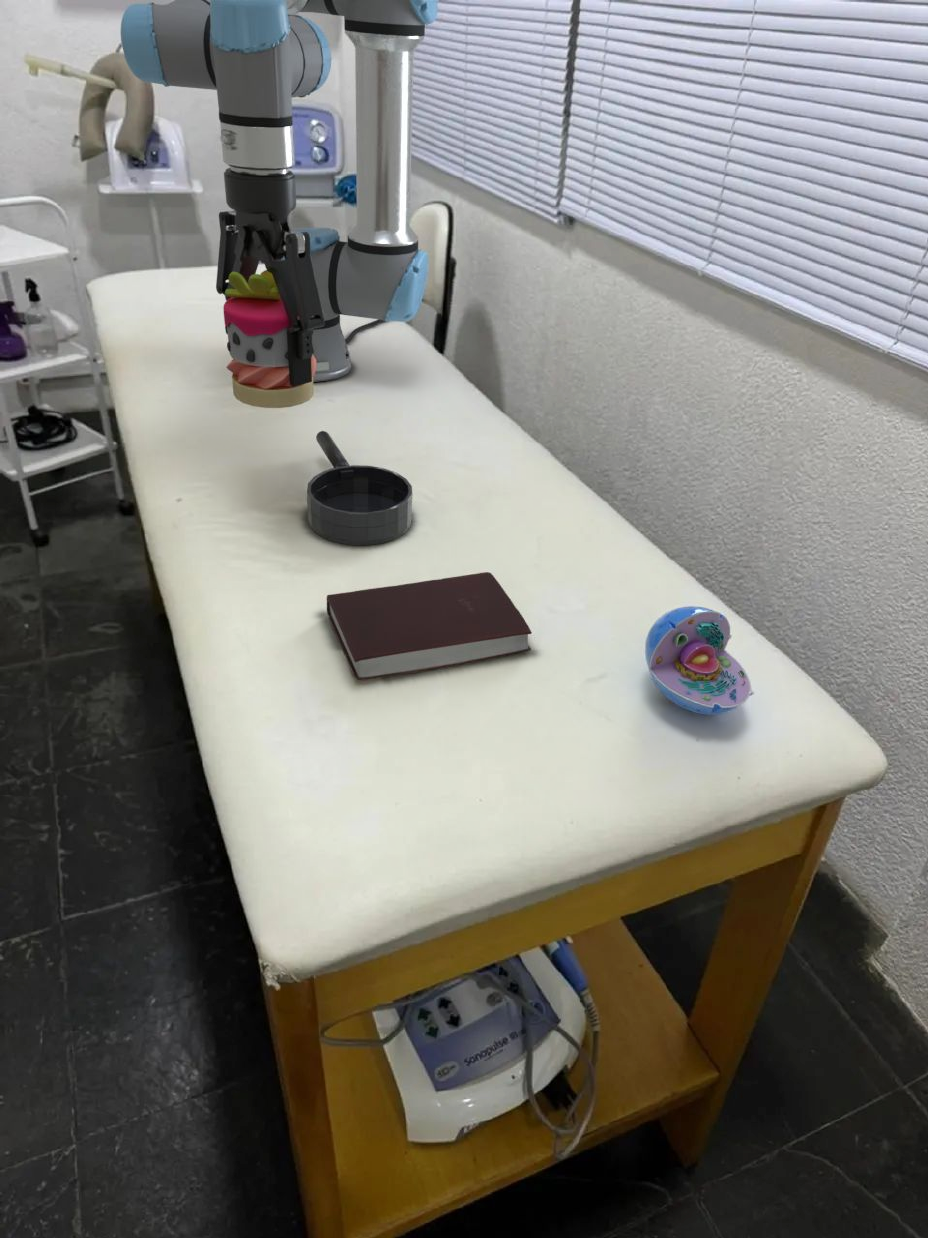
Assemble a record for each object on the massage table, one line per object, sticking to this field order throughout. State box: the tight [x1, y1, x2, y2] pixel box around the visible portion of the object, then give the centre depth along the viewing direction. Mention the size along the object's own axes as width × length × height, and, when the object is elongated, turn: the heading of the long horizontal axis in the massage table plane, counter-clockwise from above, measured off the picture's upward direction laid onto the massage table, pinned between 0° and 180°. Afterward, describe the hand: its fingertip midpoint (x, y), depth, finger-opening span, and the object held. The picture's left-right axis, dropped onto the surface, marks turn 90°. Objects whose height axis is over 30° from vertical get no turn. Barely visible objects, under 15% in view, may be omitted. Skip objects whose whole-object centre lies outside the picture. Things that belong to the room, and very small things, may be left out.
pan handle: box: [315, 430, 354, 479], centre depth 119 cm, size 13×2×2 cm, turn 23°
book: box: [326, 571, 533, 681], centre depth 91 cm, size 12×19×3 cm, turn 110°
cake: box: [222, 269, 316, 409], centre depth 102 cm, size 10×11×15 cm
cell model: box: [644, 605, 755, 716], centre depth 84 cm, size 10×12×10 cm
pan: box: [306, 464, 413, 546], centre depth 110 cm, size 13×13×4 cm
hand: (272, 369), depth 104 cm, fingers closed on cake, 10 cm apart
